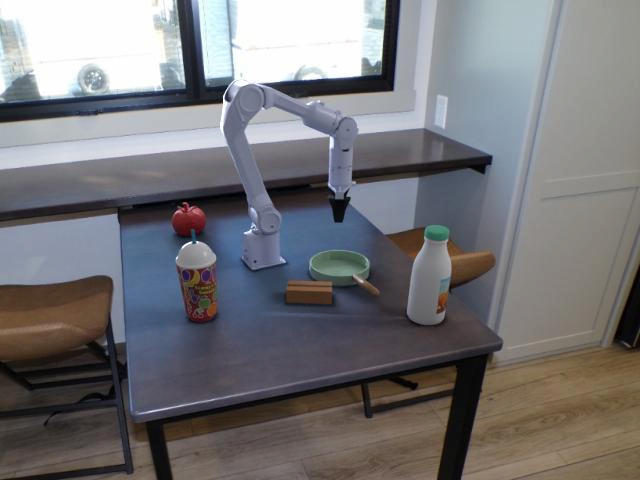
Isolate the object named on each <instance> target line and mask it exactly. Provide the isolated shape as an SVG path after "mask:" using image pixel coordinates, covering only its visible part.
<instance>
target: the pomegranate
mask: <svg viewBox="0 0 640 480" xmlns="http://www.w3.org/2000/svg"><path fill="white" fill-rule="evenodd" d="M182 205H183V206H184V207H181V206H177V210H176V212H174V214H173V216H172V219H171V225H172V228H173V231H174V232H175V233H176V234H177V235H178V236H182V237H192V234H191V230H192V229H194V232H195V235H198V234H200V233H202V232H203V231H204V230H205V228H206V225H207V217H206V214H205V213H204V211H203V210H202V209H201V208H198V207H199V206H198V205H193V206H191V207H190V204H188V202H182Z"/></svg>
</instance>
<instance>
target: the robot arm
mask: <svg viewBox="0 0 640 480" xmlns="http://www.w3.org/2000/svg"><path fill="white" fill-rule="evenodd" d="M222 97H223V103H222V104H223V105H222V112H221V118H220V125H219V126H220V127H219V128H220V131H221V134H222V136H223V138H224V141H225V144H226V147H227V150H228V152H229V154H230V155H231V159H232V161H233V165H234V166H235V170H236V172H237V174H238V176H239V179H240V182H241V184H242V187H243V189H244V192H245V194H246V201H247V204H248V212H247V213H248V216H249V218H250V219H251V220H252V222H251V226H250V229H249V230H248V231H245V232H243V233H242V234H241V250H242V256H241V259H242V261H243V262H244V263H245V264H246V265H247V266H248V267H249V269H250V270H252V271H256V270H260V269H262V268H267V267H268V268H269V267H272V266H277V265H281V264H286V263H287V261H286V260H285V258H283V257H282V256H281V234H280V233H281V231H280V228H281V227H282V224H283V216H282V214H281V213H280V212H279V211H278V209H276V208H275V205H274V203H273V201H272V200H271V198H270V195H269V194H268V192H267V189H266V186H265V184H264V181H263V178H262V176H261V173H260V170H259V168H258V165H257V162H256V160H255V156H254V154H253V150H252V149H251V146H250V143H249V141H248V137H247V135H246V131H245V130H246V129H247V127H248V125H249V123H250V121H251V120H252V119H253V118H254V117H255V116H257V114H258V113H259V112H260V111H261V110H262V109H263V110H264V111H265V110H269V109H271V108H276V109H279V110H282V111H285V112H286V113H289V114H292V115H295V116H297V117H299V118H301V122H302V123H303V126H305V127H308V128H310V129H312V130H314V131H317V132H320V133H322V134H325V135H327V136H329V154H328V156H329V157H328V158H329V160H328V181H327V186H328V188H329V190H330V193H331V194H328V196H327V201H328V202H329V204H330V207H331V211H332V218H333V223H335V224H341V223H344V219H345V214H346V211H347V208H348V205H349V204H350V202H351V200H352V196H348V193H349V191H350V190H351V188H352V187H356V186H357V182H356V181H353V180H352V177H353V159H354V158H353V157H354V141H355V139H356V138H357V136H358V134H359V130H360V129H359V128H358V124H357V122H356V120H355V119H354V118H353V117H351V116H349V115H346V114H344V113H342V110H340V109H339V108H336V109H333V108H331V107H329V106H326V105H325V104H326V103H325V102H323V101H321V100H317V101H316V100H312V101H310V102H308V103H304V102H302V101H300V100H298V99H296V98H294V97H293V96H290V95H288V94H285V93H284V92H281V91H279V90H277V89H275V88H273V87H271V86H267V85H264V84H260V83H256V82H251V83H250V82H249V81H248V80H246V79H243V78H237V79H235V80H233V81H232V82H230V83H229V85H228V87H227V89H226V90H225V92H224V94H223V96H222Z"/></svg>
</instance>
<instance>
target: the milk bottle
mask: <svg viewBox="0 0 640 480" xmlns="http://www.w3.org/2000/svg"><path fill="white" fill-rule="evenodd" d="M450 234H451V233H450V228H448V227H446V226H444V225H440V224H439V225H438V224H432V225H428V226H426V227H425V229H424V237H423V239H424V243H423V245H422V247H421V249H420V250H419V252H418V253H417V255H416V257H415V259H414V261H413V264H412V269H411V274H410V283H409V289H408V290H409V291H408V298H407V307H406V314H407V316H408V319H409V320H411V321H412V322H414V323H415V324H417V325H418V324H419V325H423V326H435V325H438V324H440V323H442V322H443V320H444V319H445V316H446V309H447V304H448V299H449V298H448V297H449V293H450V292H449V291H450V284H451V279H452V278H451V277H452V260H451V257H450V254H449V251H448V246H447V244H448V242H449V238H450Z"/></svg>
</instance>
